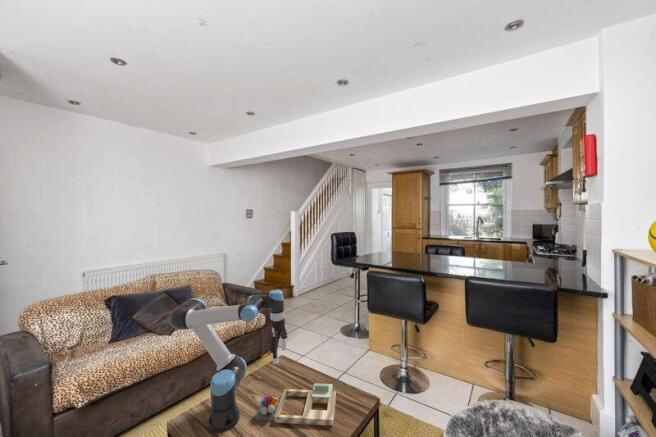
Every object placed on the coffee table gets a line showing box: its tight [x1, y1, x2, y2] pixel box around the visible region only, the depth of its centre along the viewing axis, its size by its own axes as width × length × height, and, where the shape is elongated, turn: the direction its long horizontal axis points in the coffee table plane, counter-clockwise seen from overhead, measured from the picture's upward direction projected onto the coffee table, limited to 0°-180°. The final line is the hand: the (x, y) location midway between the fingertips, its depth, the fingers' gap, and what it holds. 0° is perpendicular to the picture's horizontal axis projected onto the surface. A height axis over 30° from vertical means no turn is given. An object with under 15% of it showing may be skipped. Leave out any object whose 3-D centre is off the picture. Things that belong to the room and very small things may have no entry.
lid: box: [312, 383, 332, 398], centre depth 156 cm, size 10×11×4 cm
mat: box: [254, 403, 279, 422], centre depth 146 cm, size 11×11×1 cm
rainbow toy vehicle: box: [259, 394, 279, 415], centre depth 146 cm, size 8×10×7 cm
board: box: [273, 383, 337, 427], centre depth 151 cm, size 30×27×3 cm
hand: (280, 356), depth 152 cm, fingers open, 13 cm apart
